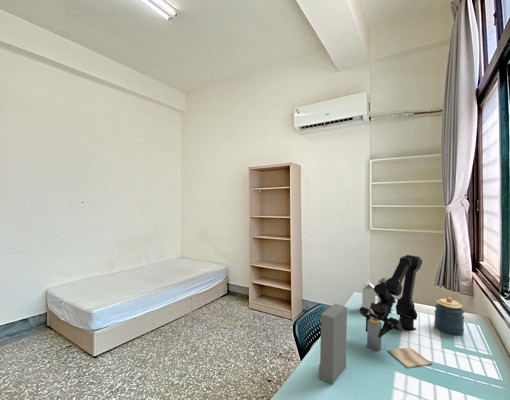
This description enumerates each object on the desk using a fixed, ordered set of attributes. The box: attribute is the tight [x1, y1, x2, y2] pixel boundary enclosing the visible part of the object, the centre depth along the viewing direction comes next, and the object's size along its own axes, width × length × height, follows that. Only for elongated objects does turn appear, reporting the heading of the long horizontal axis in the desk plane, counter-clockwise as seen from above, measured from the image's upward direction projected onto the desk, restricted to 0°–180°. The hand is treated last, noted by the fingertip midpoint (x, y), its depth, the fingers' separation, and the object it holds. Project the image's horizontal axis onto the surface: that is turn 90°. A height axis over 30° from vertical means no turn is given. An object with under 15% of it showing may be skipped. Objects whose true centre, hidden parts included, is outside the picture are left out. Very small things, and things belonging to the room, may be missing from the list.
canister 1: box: [366, 317, 383, 352], centre depth 124 cm, size 6×6×13 cm
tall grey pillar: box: [317, 303, 348, 385], centre depth 106 cm, size 14×6×25 cm, turn 141°
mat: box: [387, 347, 433, 369], centre depth 116 cm, size 12×12×1 cm
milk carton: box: [361, 279, 377, 313], centre depth 164 cm, size 7×7×19 cm
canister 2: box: [433, 296, 465, 336], centre depth 142 cm, size 13×13×18 cm
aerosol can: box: [377, 276, 388, 303], centre depth 169 cm, size 7×7×20 cm
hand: (372, 334), depth 123 cm, fingers closed on canister 1, 6 cm apart
